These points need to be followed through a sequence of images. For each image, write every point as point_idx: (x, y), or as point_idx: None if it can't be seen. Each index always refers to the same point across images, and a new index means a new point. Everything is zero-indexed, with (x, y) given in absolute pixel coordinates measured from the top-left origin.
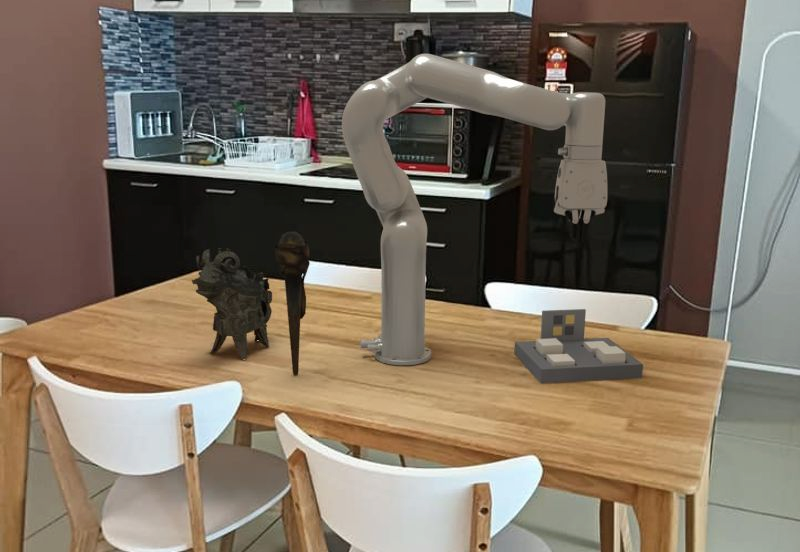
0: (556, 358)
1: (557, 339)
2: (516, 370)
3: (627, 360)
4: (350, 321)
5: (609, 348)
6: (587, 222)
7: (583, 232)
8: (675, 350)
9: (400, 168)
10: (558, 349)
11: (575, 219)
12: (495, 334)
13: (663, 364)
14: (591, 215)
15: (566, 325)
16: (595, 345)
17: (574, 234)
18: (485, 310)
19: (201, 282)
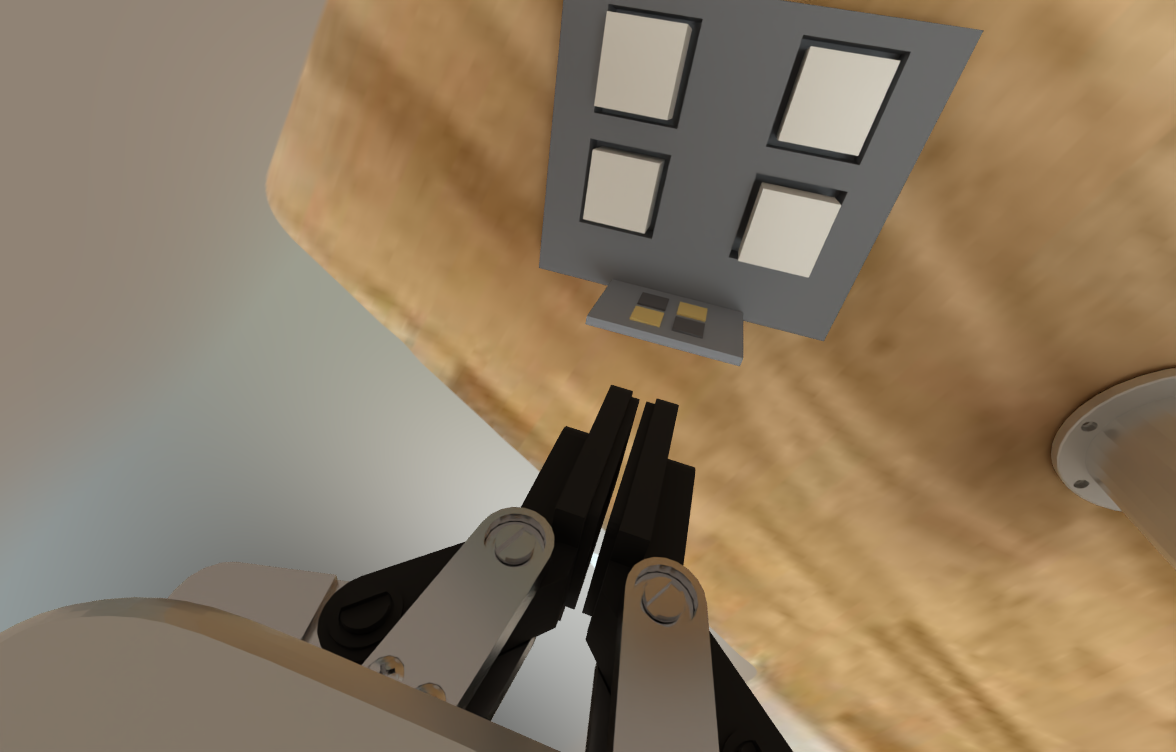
0: (858, 98)
1: (692, 301)
2: (925, 198)
3: (596, 32)
4: (1021, 663)
5: (632, 88)
6: (508, 518)
7: (596, 440)
8: (387, 188)
9: None
10: (778, 189)
11: (662, 618)
12: (750, 460)
13: (461, 90)
14: (406, 588)
15: (660, 311)
16: (630, 187)
17: (673, 475)
18: None
19: None
